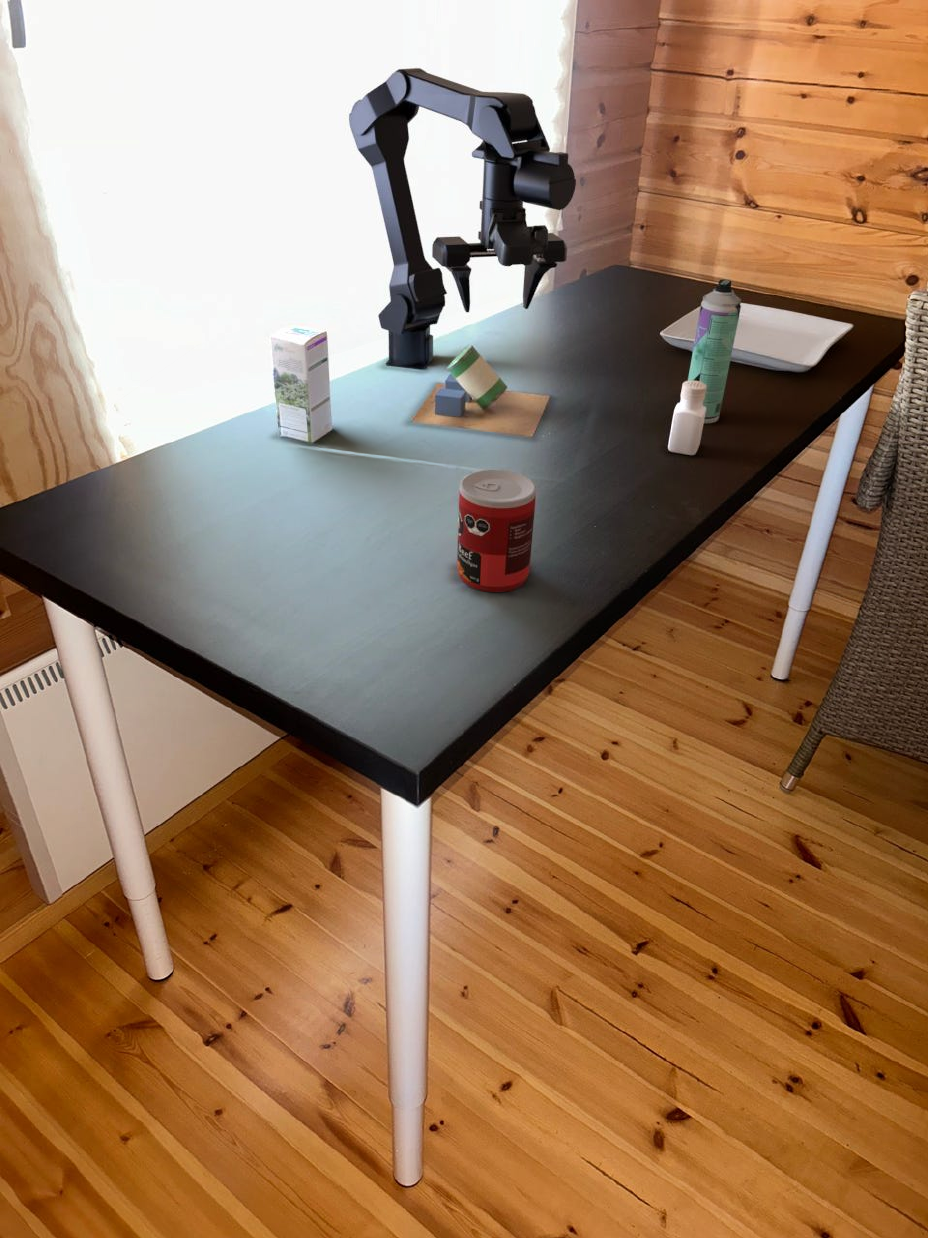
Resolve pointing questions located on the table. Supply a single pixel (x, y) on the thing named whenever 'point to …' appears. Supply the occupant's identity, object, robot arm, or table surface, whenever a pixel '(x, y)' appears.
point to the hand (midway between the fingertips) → (496, 309)
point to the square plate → (769, 337)
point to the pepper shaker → (688, 419)
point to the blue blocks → (451, 399)
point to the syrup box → (301, 382)
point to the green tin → (477, 377)
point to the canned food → (495, 529)
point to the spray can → (715, 345)
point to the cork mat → (490, 414)
